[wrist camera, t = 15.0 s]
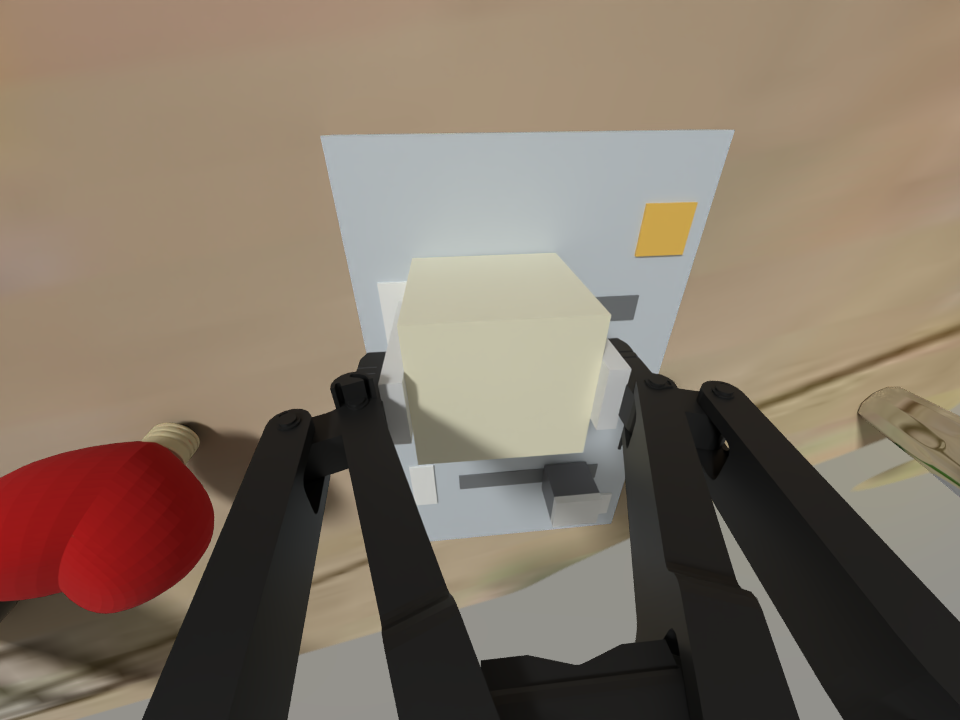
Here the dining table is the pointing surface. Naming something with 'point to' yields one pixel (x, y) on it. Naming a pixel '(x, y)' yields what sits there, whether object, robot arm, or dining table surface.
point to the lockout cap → (499, 356)
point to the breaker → (570, 494)
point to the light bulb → (105, 522)
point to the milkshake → (918, 431)
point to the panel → (526, 230)
